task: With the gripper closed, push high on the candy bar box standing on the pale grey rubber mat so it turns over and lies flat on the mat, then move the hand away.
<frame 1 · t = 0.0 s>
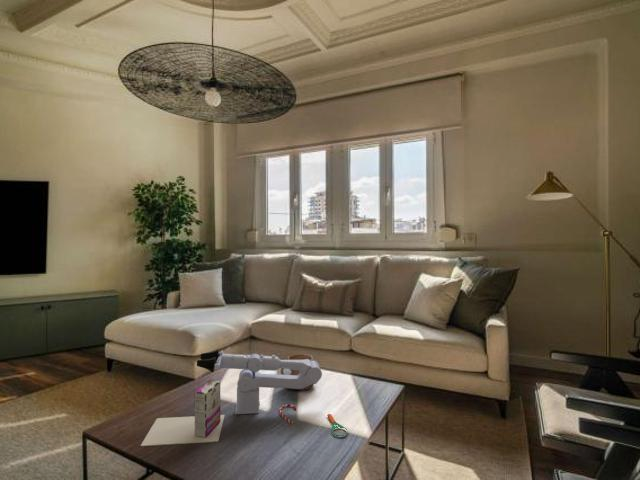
hand: (198, 359, 146), 22 cm above the table, tool horizontal, fingers open, 7 cm apart
candy cane: (289, 416, 145), on the table
mat: (186, 429, 133), on the table
candy bar box: (207, 429, 133), resting on mat
ceramic jug: (298, 386, 172), on the table
magnifying glass: (335, 428, 137), on the table
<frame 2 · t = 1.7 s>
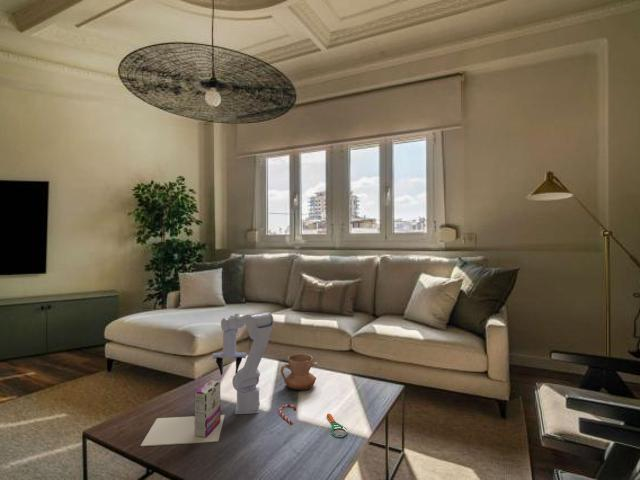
hand: (229, 373, 160), 10 cm above the table, tool pointing down, fingers open, 6 cm apart
nothing on the table moved.
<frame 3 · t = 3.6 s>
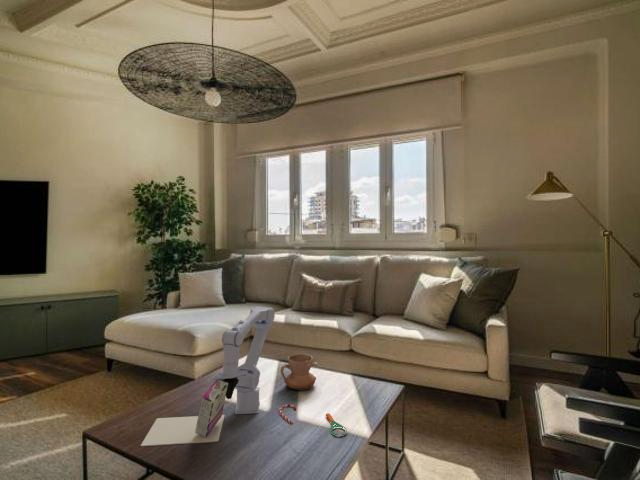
hand: (228, 398, 136), 11 cm above the table, tool pointing down, fingers closed
candy bar box: (208, 425, 133), point 2 cm above the table, touching mat
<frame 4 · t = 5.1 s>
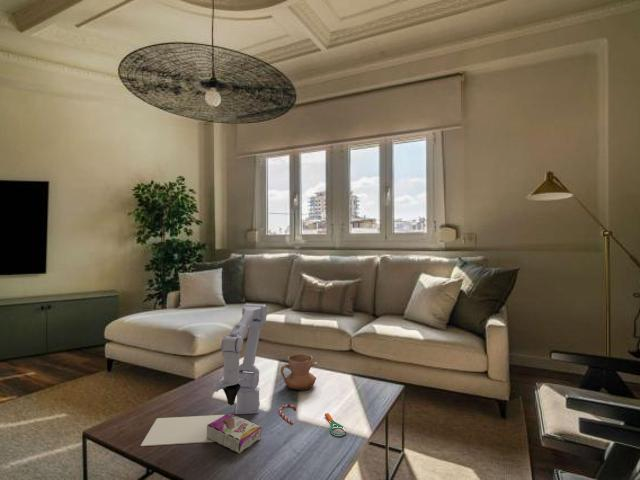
hand: (231, 404, 134), 9 cm above the table, tool pointing down, fingers closed
candy bar box: (217, 424, 132), point 3 cm above the table, touching mat
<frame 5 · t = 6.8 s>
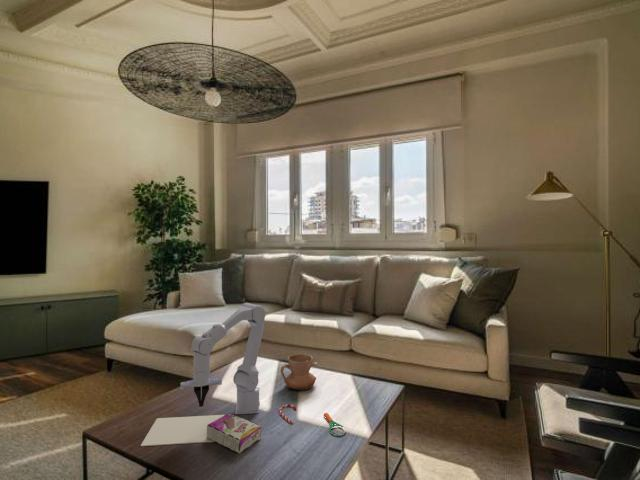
hand: (201, 405, 132), 9 cm above the table, tool pointing down, fingers closed
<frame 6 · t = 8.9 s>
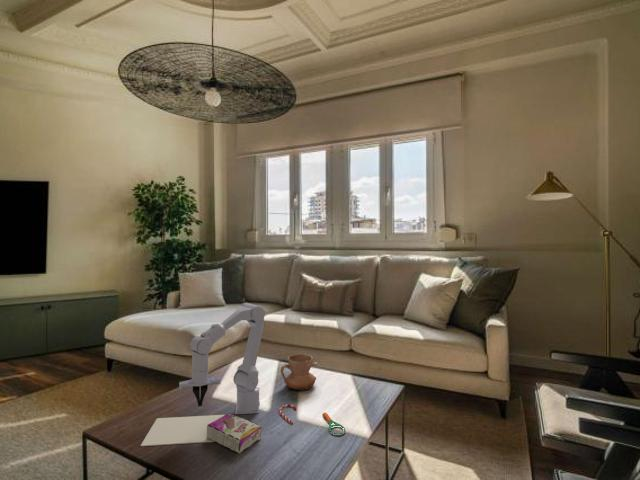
hand: (200, 405, 133), 10 cm above the table, tool pointing down, fingers closed
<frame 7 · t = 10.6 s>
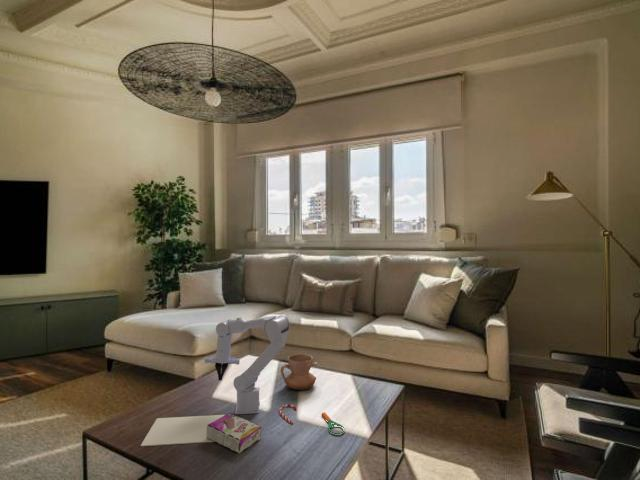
hand: (220, 379, 153), 11 cm above the table, tool pointing down, fingers closed
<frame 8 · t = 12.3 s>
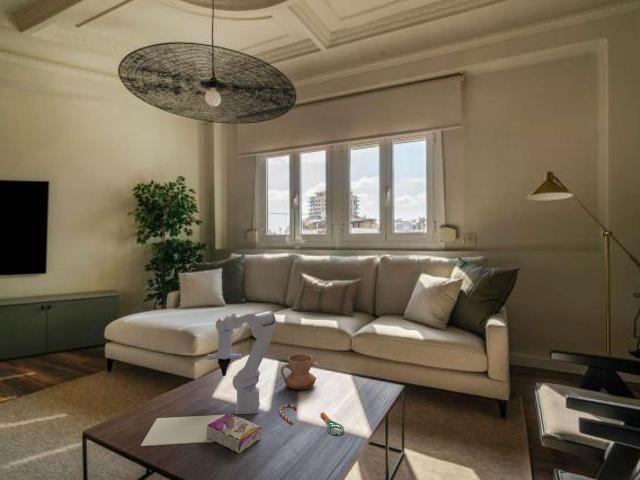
hand: (224, 375, 158), 10 cm above the table, tool pointing down, fingers closed
at the end: candy bar box tilted 92°; candy bar box touching mat, table; candy bar box inside the target area (8.5 cm from its centre), point 2.8 cm above the table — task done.
